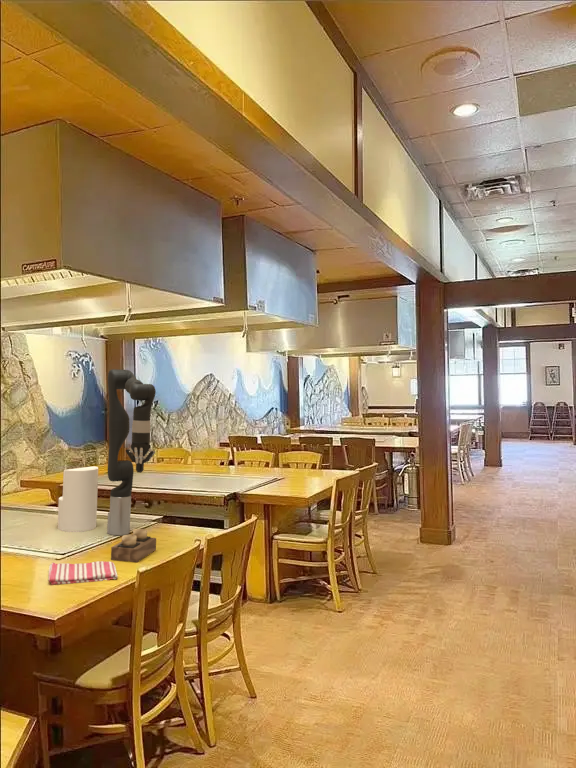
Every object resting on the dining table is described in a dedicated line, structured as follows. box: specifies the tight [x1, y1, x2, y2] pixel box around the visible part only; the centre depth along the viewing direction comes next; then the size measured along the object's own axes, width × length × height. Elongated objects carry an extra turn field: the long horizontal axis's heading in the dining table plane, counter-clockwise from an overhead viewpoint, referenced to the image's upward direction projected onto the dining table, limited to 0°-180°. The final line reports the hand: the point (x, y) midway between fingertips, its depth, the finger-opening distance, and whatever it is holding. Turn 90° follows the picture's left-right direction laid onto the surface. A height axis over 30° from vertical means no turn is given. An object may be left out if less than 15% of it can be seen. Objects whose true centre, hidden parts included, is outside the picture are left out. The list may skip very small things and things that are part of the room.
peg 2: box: [132, 528, 148, 540], centre depth 248 cm, size 6×6×9 cm
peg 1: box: [121, 534, 137, 546], centre depth 239 cm, size 6×6×9 cm
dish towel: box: [48, 560, 118, 586], centre depth 217 cm, size 17×23×4 cm
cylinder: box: [57, 465, 99, 533], centre depth 284 cm, size 17×17×28 cm
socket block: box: [110, 535, 157, 563], centre depth 244 cm, size 11×18×6 cm, turn 169°
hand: (139, 472), depth 253 cm, fingers closed
